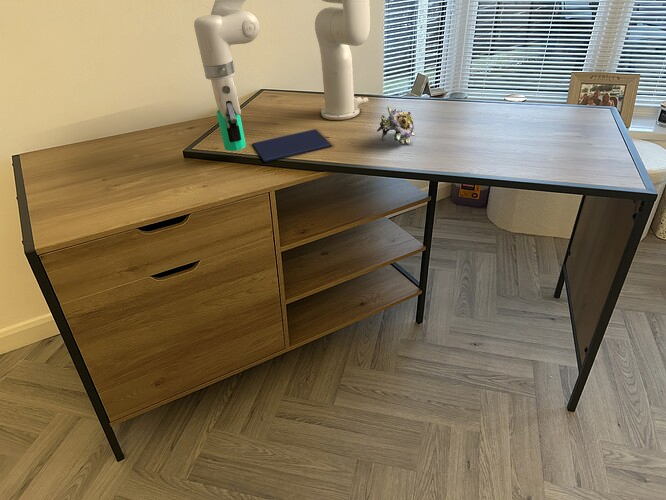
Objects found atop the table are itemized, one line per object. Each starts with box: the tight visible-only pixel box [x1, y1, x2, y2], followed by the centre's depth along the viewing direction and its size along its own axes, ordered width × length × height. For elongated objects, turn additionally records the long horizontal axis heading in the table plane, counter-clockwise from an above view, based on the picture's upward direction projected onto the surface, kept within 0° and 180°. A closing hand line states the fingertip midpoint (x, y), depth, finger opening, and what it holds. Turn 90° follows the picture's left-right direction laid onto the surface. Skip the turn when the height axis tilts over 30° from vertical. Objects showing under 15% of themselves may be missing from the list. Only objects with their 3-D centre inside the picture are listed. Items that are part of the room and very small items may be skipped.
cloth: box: [252, 128, 333, 163], centre depth 140 cm, size 20×14×1 cm
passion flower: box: [376, 106, 415, 145], centre depth 135 cm, size 11×11×12 cm
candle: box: [216, 109, 247, 152], centre depth 130 cm, size 6×6×12 cm
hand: (233, 136), depth 132 cm, fingers closed on candle, 4 cm apart
